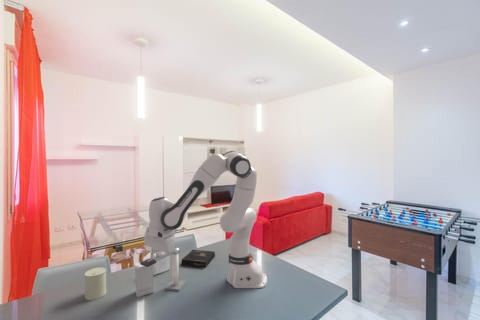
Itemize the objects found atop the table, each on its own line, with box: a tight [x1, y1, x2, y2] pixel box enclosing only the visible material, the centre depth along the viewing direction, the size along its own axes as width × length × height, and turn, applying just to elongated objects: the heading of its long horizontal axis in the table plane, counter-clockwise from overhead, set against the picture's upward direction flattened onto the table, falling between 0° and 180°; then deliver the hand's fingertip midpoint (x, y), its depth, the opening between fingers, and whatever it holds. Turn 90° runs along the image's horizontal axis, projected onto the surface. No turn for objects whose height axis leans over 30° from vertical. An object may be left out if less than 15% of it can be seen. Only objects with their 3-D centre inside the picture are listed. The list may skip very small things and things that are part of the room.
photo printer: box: [151, 252, 171, 276], centre depth 135 cm, size 10×4×12 cm, turn 134°
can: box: [84, 266, 108, 301], centre depth 112 cm, size 9×9×12 cm
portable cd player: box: [181, 249, 216, 269], centre depth 149 cm, size 16×17×4 cm
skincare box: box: [134, 262, 155, 298], centre depth 114 cm, size 8×6×15 cm
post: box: [164, 253, 187, 292], centre depth 119 cm, size 8×8×18 cm
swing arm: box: [139, 246, 180, 267], centre depth 112 cm, size 21×5×2 cm, turn 148°
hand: (158, 257), depth 112 cm, fingers closed
